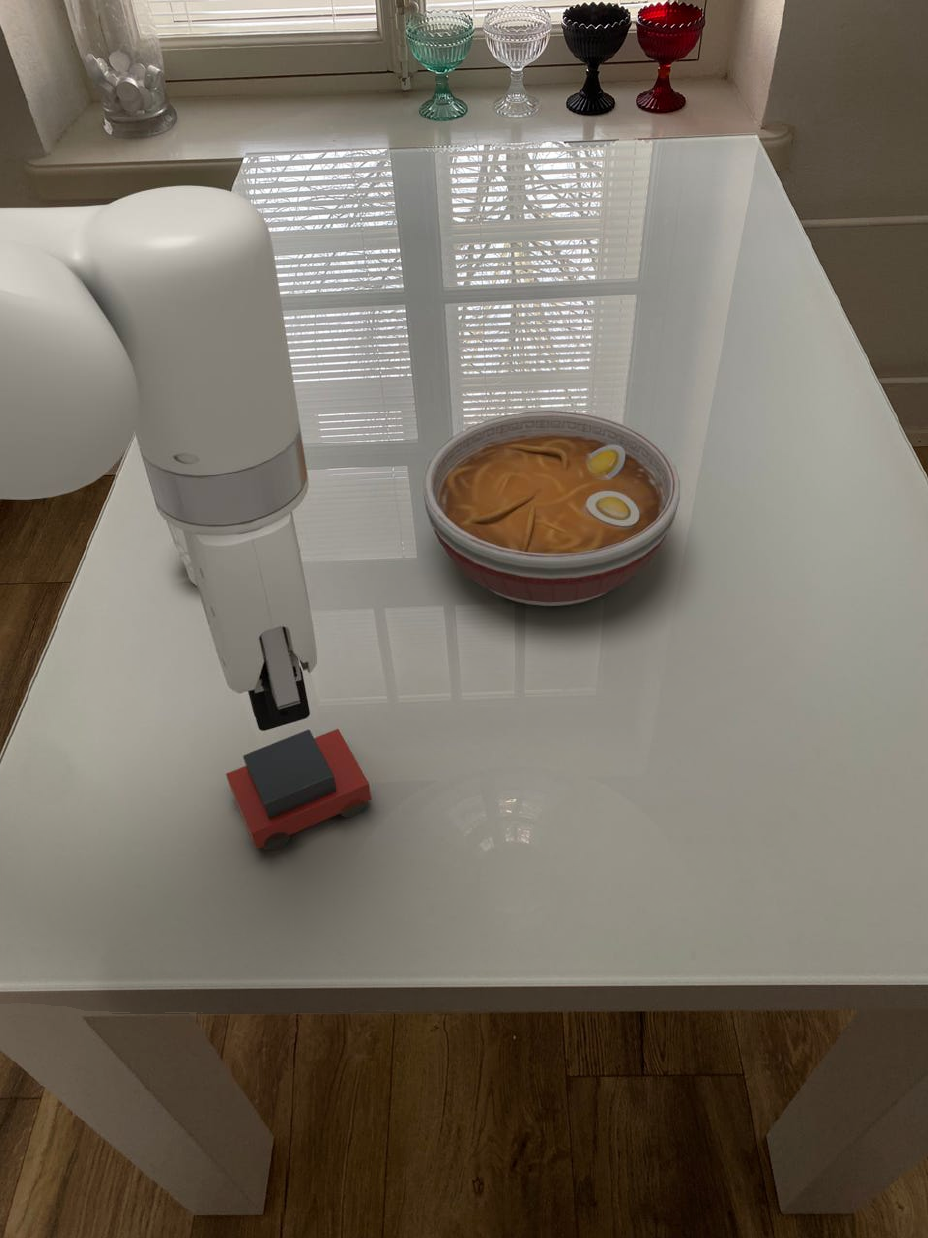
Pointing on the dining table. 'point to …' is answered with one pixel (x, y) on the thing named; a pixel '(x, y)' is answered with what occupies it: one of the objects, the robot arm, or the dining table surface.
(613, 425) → the bowl
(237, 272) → the robot arm
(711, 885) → the dining table surface
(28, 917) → the dining table surface
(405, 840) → the dining table surface
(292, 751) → the toy car
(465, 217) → the dining table surface
